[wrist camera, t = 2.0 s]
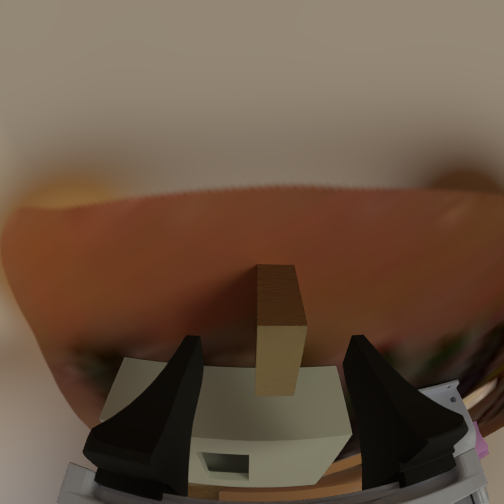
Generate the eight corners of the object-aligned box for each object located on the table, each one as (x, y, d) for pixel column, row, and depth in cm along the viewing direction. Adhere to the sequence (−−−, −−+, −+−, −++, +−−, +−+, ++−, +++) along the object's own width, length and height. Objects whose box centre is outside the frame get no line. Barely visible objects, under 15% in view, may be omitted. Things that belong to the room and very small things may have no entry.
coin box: (335, 365, 19) (352, 434, 14) (310, 435, 25) (315, 484, 19) (124, 357, 19) (98, 418, 14) (158, 428, 25) (147, 475, 19)
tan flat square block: (294, 264, 15) (307, 325, 11) (286, 332, 18) (293, 395, 13) (257, 264, 15) (257, 325, 11) (255, 332, 18) (254, 396, 13)
